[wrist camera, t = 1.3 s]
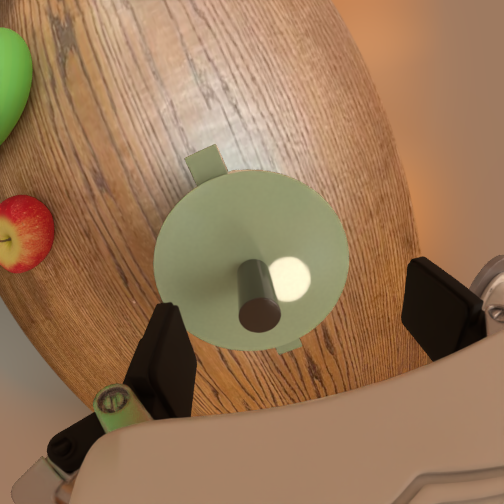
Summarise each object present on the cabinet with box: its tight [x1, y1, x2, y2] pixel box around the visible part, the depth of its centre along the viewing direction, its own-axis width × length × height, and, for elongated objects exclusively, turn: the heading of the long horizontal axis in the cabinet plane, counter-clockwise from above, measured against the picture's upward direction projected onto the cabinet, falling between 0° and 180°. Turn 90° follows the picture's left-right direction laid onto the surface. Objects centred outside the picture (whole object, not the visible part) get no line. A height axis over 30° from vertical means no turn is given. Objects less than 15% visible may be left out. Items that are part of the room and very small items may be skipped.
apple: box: [0, 195, 54, 273], centre depth 22 cm, size 8×8×10 cm
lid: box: [153, 170, 349, 351], centre depth 19 cm, size 15×15×7 cm
